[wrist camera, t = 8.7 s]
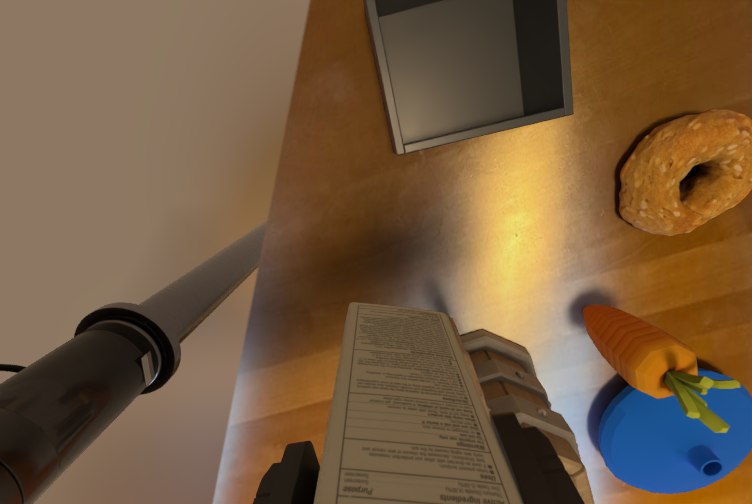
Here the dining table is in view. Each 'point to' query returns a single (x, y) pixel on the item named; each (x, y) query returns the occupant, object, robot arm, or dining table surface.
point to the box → (408, 417)
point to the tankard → (520, 396)
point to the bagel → (673, 162)
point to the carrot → (653, 361)
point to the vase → (674, 438)
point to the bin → (468, 67)
